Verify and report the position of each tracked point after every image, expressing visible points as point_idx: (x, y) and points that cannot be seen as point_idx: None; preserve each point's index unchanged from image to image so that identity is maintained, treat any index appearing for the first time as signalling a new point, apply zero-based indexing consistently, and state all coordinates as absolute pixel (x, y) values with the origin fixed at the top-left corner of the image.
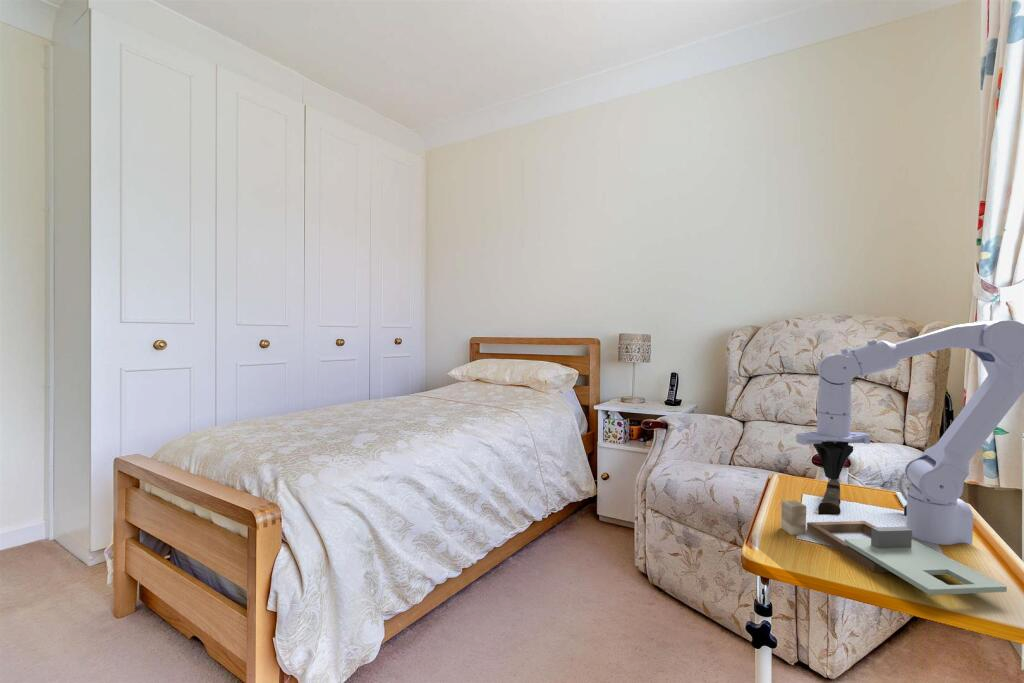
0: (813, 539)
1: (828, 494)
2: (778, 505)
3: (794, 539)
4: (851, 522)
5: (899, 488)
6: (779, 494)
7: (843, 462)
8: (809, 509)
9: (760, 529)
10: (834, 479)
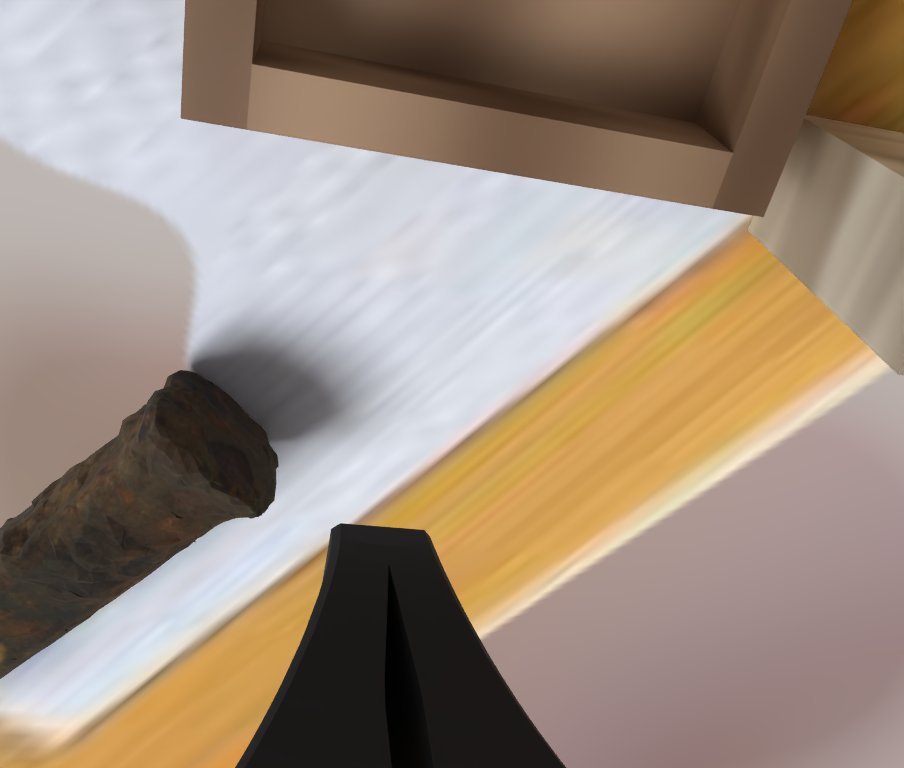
0: None
1: (36, 631)
2: None
3: None
4: (358, 118)
5: None
6: (241, 747)
7: (304, 721)
8: (235, 549)
9: None
10: (397, 528)
